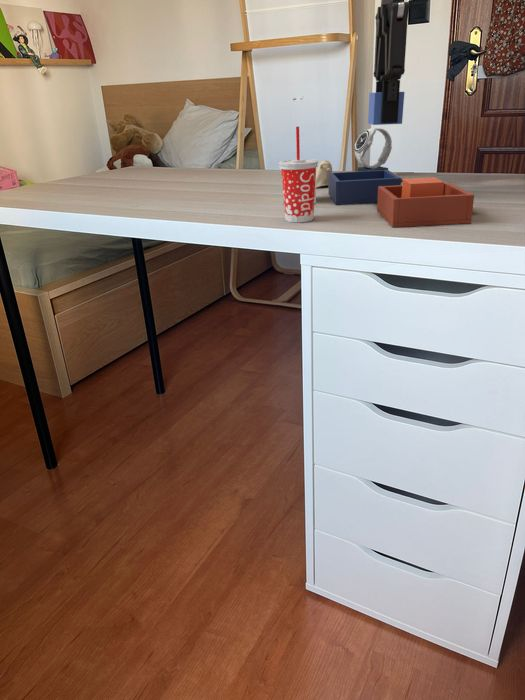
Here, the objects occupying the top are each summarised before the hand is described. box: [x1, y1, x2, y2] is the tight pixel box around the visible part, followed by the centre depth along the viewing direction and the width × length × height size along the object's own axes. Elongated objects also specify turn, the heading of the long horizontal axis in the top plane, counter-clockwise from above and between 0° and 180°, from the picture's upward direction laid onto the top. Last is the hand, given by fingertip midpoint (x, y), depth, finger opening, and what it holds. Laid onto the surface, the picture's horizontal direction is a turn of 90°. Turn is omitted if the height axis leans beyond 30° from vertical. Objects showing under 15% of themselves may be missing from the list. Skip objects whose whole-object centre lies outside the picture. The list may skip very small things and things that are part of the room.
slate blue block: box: [367, 91, 405, 126], centre depth 92 cm, size 5×5×5 cm
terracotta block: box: [401, 176, 445, 198], centre depth 82 cm, size 5×5×5 cm
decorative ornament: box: [316, 159, 333, 189], centre depth 113 cm, size 4×8×5 cm, turn 175°
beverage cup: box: [278, 126, 319, 223], centre depth 83 cm, size 6×6×14 cm
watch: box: [353, 127, 393, 171], centre depth 113 cm, size 6×8×11 cm
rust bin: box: [376, 182, 475, 228], centre depth 82 cm, size 12×12×4 cm
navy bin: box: [327, 169, 402, 206], centre depth 99 cm, size 12×12×4 cm
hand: (385, 121), depth 93 cm, fingers closed on slate blue block, 5 cm apart
